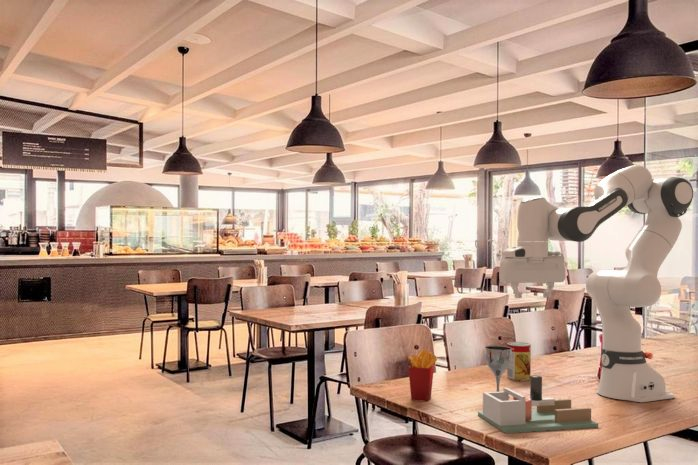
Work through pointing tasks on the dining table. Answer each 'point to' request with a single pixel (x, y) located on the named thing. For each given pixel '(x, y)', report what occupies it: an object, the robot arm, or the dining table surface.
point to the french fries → (421, 375)
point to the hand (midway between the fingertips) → (532, 297)
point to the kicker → (535, 397)
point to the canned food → (519, 361)
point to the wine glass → (498, 360)
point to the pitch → (544, 418)
